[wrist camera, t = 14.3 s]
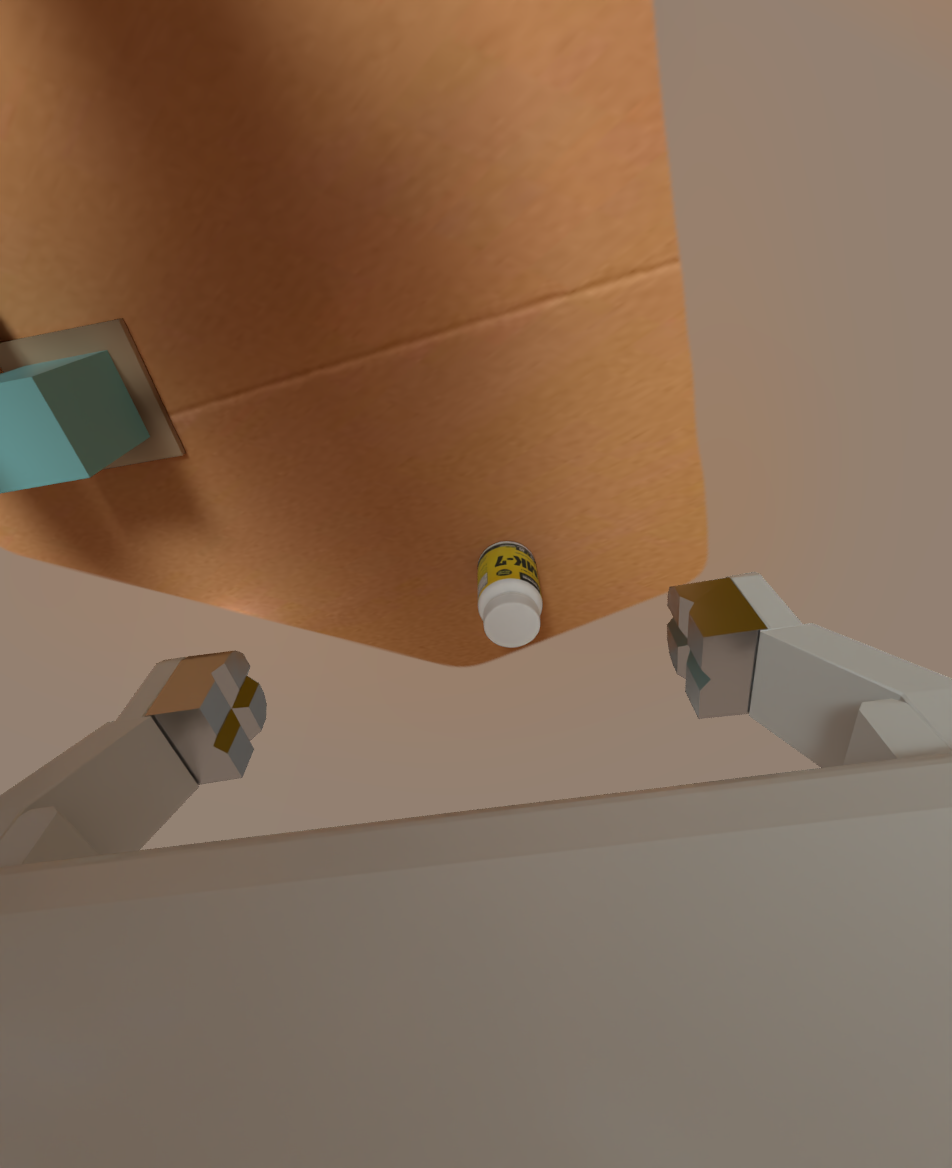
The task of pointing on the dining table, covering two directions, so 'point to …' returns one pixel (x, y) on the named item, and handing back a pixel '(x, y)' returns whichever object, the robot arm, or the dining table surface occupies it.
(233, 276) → the dining table surface
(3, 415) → the teal rectangular block
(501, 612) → the supplement bottle
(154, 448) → the flat square base
